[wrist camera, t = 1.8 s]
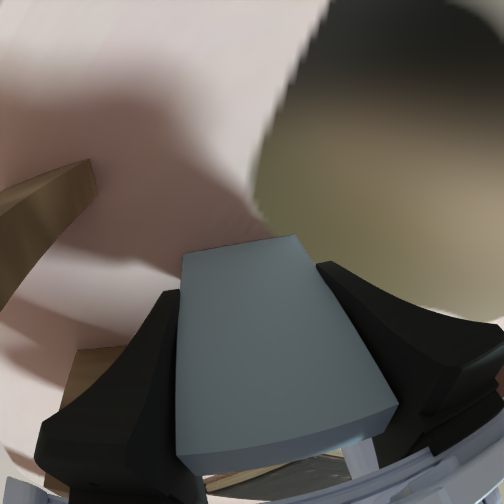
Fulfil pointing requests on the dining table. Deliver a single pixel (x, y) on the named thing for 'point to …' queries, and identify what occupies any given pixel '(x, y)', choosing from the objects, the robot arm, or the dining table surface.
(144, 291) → the dining table surface
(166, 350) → the robot arm
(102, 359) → the domino
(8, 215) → the domino
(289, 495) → the hardcover book
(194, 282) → the domino
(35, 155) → the dining table surface
